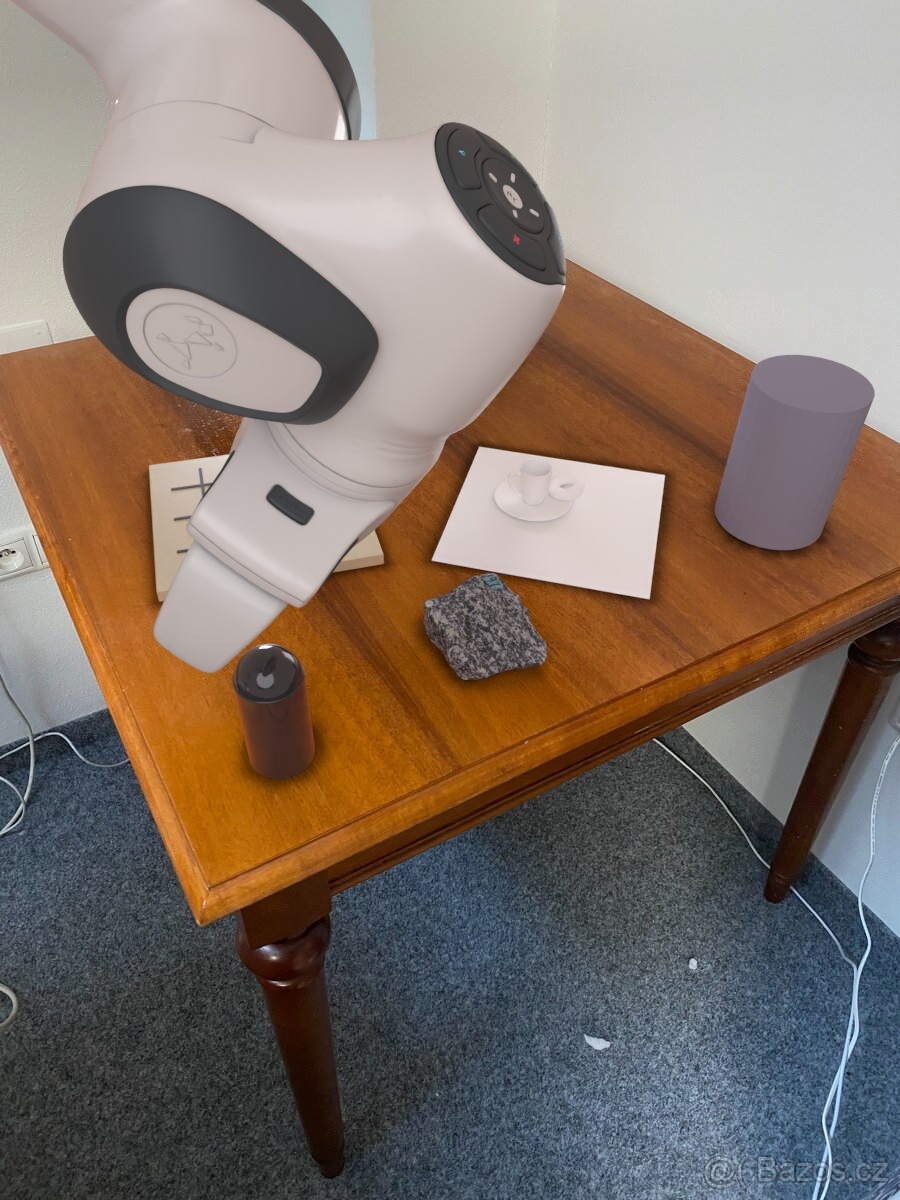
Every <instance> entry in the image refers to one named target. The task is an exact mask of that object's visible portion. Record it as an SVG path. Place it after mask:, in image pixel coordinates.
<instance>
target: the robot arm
mask: <svg viewBox="0 0 900 1200" xmlns="http://www.w3.org/2000/svg"><path fill="white" fill-rule="evenodd" d="M10 2H12V3H13V4H14V5H16V6H17V7H19V8H20V9H21V10H23V11H24V12H25V13H26V14H28V15H29V16H30V17H31V18H32V19H34V20H35V21H37V22H38V23H39V24H41V25H42V26H43V27H44V28H46V29H47V30H48V31H49V32H51V33H52V34H54V35H55V37H57V38H58V39H59V40H61V41H62V42H64V43H65V44H66V45H68V47H70V48H72V50H74V51H75V52H76V53H78V54H79V55H80V56H81V57H82V58H83V59H84V60H85V61H86V62H87V63H88V64H89V65H90V66H91V68H92V70H94V72H95V73H96V74H97V75H98V77H99V79H100V81H101V82H102V84H103V86H104V88H105V90H106V92H107V94H108V96H109V99H110V102H111V104H112V107H113V110H112V114H111V116H110V118H109V121H108V124H107V127H106V129H105V132H104V135H103V138H102V140H101V141H100V143H99V145H98V146H97V148H96V150H95V153H94V156H93V159H92V161H91V164H90V165H89V169H88V172H87V174H86V177H85V180H84V182H83V185H82V187H81V188H82V189H81V191H80V195H79V198H78V201H77V204H76V207H75V210H74V213H73V216H72V219H71V223H70V225H69V227H68V229H67V231H66V234H65V237H64V242H63V247H62V269H63V275H64V280H65V283H66V287H67V289H68V292H69V294H70V297H71V299H72V301H73V303H74V306H75V307H76V309H77V311H78V312H79V313H78V314H80V316H81V318H82V319H83V321H84V323H85V324H86V325H87V327H88V328H89V329H90V331H91V332H92V334H93V335H94V336H95V337H96V339H97V340H98V341H99V342H100V343H101V344H102V345H103V347H104V348H105V349H107V351H109V352H110V354H111V355H112V356H113V357H115V358H116V359H117V360H118V361H119V362H120V363H122V364H123V365H124V366H126V367H127V368H128V369H129V370H131V371H132V372H134V373H135V374H137V375H138V376H140V377H141V378H143V379H144V380H146V381H148V382H149V383H151V384H153V385H155V386H157V387H159V388H160V389H163V390H165V391H167V392H169V393H172V394H174V395H176V396H178V397H180V398H183V399H185V400H187V401H190V402H192V403H195V404H197V405H200V406H202V407H205V408H208V409H211V410H214V411H218V412H221V413H225V414H228V415H233V416H237V417H242V420H241V422H240V424H239V427H238V430H237V432H236V433H235V436H234V439H233V441H232V445H231V447H230V451H229V454H228V455H229V457H228V459H227V461H226V462H225V464H224V466H223V468H222V470H221V471H220V472H219V474H218V475H217V477H216V478H215V479H214V481H213V482H212V484H211V485H210V487H209V488H208V489H207V491H206V492H205V494H204V495H203V497H202V498H201V500H200V502H199V504H198V505H197V507H196V509H195V510H194V512H193V514H192V516H191V517H190V519H189V521H188V523H187V526H186V531H187V533H188V534H189V535H191V536H192V537H193V538H194V541H193V543H192V544H191V546H190V548H189V550H188V551H187V553H186V555H185V557H184V559H183V561H182V563H181V565H180V567H179V569H178V571H177V573H176V575H175V577H174V579H173V581H172V584H171V586H170V588H169V591H168V593H167V595H166V597H165V600H164V601H162V605H161V607H160V608H159V611H158V613H157V616H156V619H155V622H154V624H153V630H152V633H153V638H154V639H155V640H156V642H157V643H158V644H159V645H160V646H161V647H163V648H164V649H165V650H166V651H167V652H169V653H170V654H172V655H173V656H175V657H176V658H178V659H179V660H180V661H182V662H184V663H185V664H187V665H188V666H190V667H192V668H194V669H196V670H198V671H200V672H202V673H205V674H214V673H217V672H219V671H221V670H222V669H223V668H225V667H226V666H227V665H228V664H229V663H230V662H232V660H234V659H235V658H236V657H237V656H238V655H239V654H241V652H242V651H243V650H244V649H246V648H247V646H249V645H251V644H252V642H254V640H255V639H257V637H259V636H260V635H261V634H262V633H263V632H264V631H265V630H266V629H267V628H268V627H269V626H270V625H271V624H272V623H273V622H274V621H275V620H276V619H277V617H278V616H280V614H281V613H282V612H283V611H284V610H285V609H286V608H287V606H288V605H290V606H292V607H295V608H296V609H301V608H303V607H304V606H306V605H307V604H308V603H309V602H310V601H311V600H312V599H313V597H314V596H315V595H316V593H317V592H319V591H320V589H321V588H322V587H323V586H324V585H325V583H326V582H327V581H328V580H329V578H330V577H331V576H332V574H333V571H334V570H335V569H336V567H337V566H338V565H339V563H340V562H341V560H342V559H343V558H344V557H345V556H346V554H347V553H348V552H349V551H350V550H351V549H352V548H353V547H354V546H355V545H357V544H358V543H359V542H361V541H362V540H363V539H364V538H366V537H367V536H368V535H369V534H371V533H372V532H373V531H374V530H375V531H376V529H377V528H378V527H380V526H381V525H382V524H384V522H385V521H386V520H387V519H388V518H389V517H390V516H391V515H392V513H393V512H394V511H395V510H396V509H397V508H398V507H399V506H400V504H401V503H403V501H404V500H406V498H407V497H408V496H409V495H410V493H412V492H413V490H414V489H415V488H416V487H417V485H419V484H420V482H421V481H422V480H423V479H424V478H425V477H426V475H427V474H428V473H429V472H430V471H432V469H433V467H434V466H435V465H436V463H437V462H438V460H439V459H440V456H441V454H442V452H443V450H444V447H445V443H446V441H447V440H448V438H449V437H450V436H451V435H454V434H455V433H457V432H459V431H461V430H463V429H464V428H466V427H468V426H469V425H470V424H472V423H473V422H474V421H475V420H476V419H477V418H478V417H479V416H480V415H481V414H482V413H483V412H484V411H485V410H486V409H487V407H488V406H489V405H490V404H491V403H492V401H493V400H494V399H495V398H496V397H497V396H498V395H499V394H500V392H501V391H502V390H503V389H504V387H505V386H506V385H507V384H508V383H509V381H510V380H511V379H512V377H513V376H514V375H515V373H516V372H517V371H518V370H519V368H520V367H521V366H522V365H523V363H524V362H525V361H526V359H527V358H528V356H529V355H530V353H531V352H532V351H533V350H534V348H535V347H536V345H537V343H538V342H539V340H540V339H541V337H542V336H543V334H544V333H545V331H546V329H547V328H548V326H549V324H550V323H551V321H552V320H553V317H554V316H555V314H556V312H557V310H558V308H559V305H560V303H561V301H562V299H563V297H564V293H565V291H566V286H567V262H566V261H567V260H566V259H567V258H566V252H565V246H564V242H563V236H562V232H561V229H560V225H559V222H558V219H557V216H556V214H555V213H556V212H555V211H554V209H553V207H552V206H551V205H550V203H549V201H548V200H547V198H546V196H545V194H544V193H543V192H542V190H541V188H540V185H539V183H538V182H537V180H536V179H535V178H534V177H533V176H532V174H531V173H530V172H529V171H528V169H527V168H526V167H525V166H524V164H522V163H521V161H520V160H519V159H518V158H517V157H516V156H515V155H514V154H513V153H511V151H510V150H509V149H507V148H506V147H505V146H504V145H502V144H501V143H500V142H499V141H497V140H496V139H495V138H493V137H492V136H489V135H488V134H487V133H484V132H483V131H481V130H479V129H477V128H475V127H473V126H471V125H468V124H464V123H461V122H456V121H447V122H442V123H439V124H437V125H435V126H432V127H430V128H427V129H424V130H423V131H420V132H416V133H414V134H409V135H405V136H397V137H387V138H375V139H373V138H372V139H360V137H361V130H362V103H361V95H360V90H359V85H358V81H357V78H356V76H355V72H354V69H353V67H352V65H351V62H350V60H349V58H348V56H347V54H346V52H345V50H344V48H343V46H342V44H341V43H340V41H339V39H338V38H337V37H336V34H335V33H334V32H333V31H332V29H331V27H329V25H328V24H327V23H326V22H325V21H324V20H323V19H322V17H321V16H320V15H318V13H316V11H315V10H314V9H313V8H311V6H309V5H308V4H307V3H306V2H305V1H303V0H10Z"/></svg>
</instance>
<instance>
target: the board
mask: <svg viewBox="0 0 900 1200" xmlns="http://www.w3.org/2000/svg"><path fill="white" fill-rule="evenodd" d="M228 457H229V454H223V455H215V456H208V457H200V458H199V457H198V458H193V459H185V460H178V461H177V460H176V461H170V462H163V463H156V464H149V465H148V476H149V477H148V478H149V492H150V494H149V495H150V507H151V522H152V523H151V525H152V542H153V558H154V559H153V560H154V574H155V575H154V576H155V591H156V595H157V599H158V602H159V603H161V602H164V600H165V597H166V595H167V593H168V591H169V588H170V586H171V584H172V581H173V579H174V577H175V575H176V573H177V571H178V569H179V567H180V565H181V563H182V561H183V559H184V557H185V555H186V553H187V551H188V550H189V548H190V546H191V544H192V543H193V541H194V538H193V537H192V536H191V535H189V534H188V533H187V531H186V526H187V523H188V521H189V519H190V517H191V516H192V514H193V512H194V510H195V509H196V507H197V505H198V504H199V502H200V500H201V498H202V497H203V495H204V494H205V492H206V491H207V489H208V488H209V487H210V485H211V484H212V482H213V481H214V479H215V478H216V477H217V475H218V474H219V472H220V471H221V470H222V468H223V466H224V464H225V462H226V461H227V459H228ZM384 557H385V555H384V552H383V550H382V546H381V544H380V540H379V538H378V535H377V532H376V529H375V530H374V531H373V532H372V533H371V534H369V535H368V536H367V537H366V538H364V539H363V540H362V541H361V542H359V543H358V544H357V545H355V546H354V547H353V548H352V549H351V550H350V551H349V552H348V553H347V554H346V556H345V557H344V558H343V559H342V560H341V562H340V563H339V565H338V566H337V567H336V569H335V570H334V571H333V573H339V572H345V571H351V570H356V569H363V568H369V567H375V566H380V565H384V564H385V560H384V559H385V558H384ZM333 573H332V574H333Z"/></svg>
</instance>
